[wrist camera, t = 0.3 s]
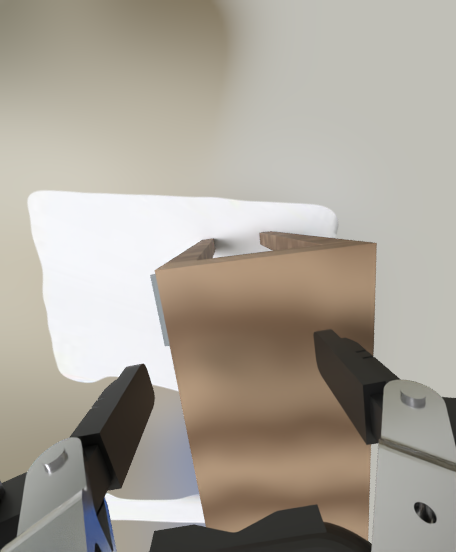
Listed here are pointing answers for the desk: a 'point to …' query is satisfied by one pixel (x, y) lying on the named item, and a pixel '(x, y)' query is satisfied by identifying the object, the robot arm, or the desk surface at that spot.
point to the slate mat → (160, 309)
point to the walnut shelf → (270, 375)
